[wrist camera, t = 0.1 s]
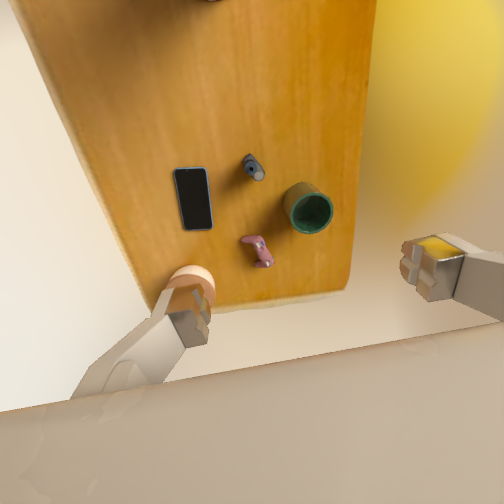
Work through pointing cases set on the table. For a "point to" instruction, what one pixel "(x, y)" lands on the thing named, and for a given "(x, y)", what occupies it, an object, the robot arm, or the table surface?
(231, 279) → the table surface
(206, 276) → the lidded bowl
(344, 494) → the robot arm
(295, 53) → the table surface
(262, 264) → the video game controller
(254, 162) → the vaping device
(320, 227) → the pen cup
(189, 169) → the smartphone
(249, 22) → the table surface
